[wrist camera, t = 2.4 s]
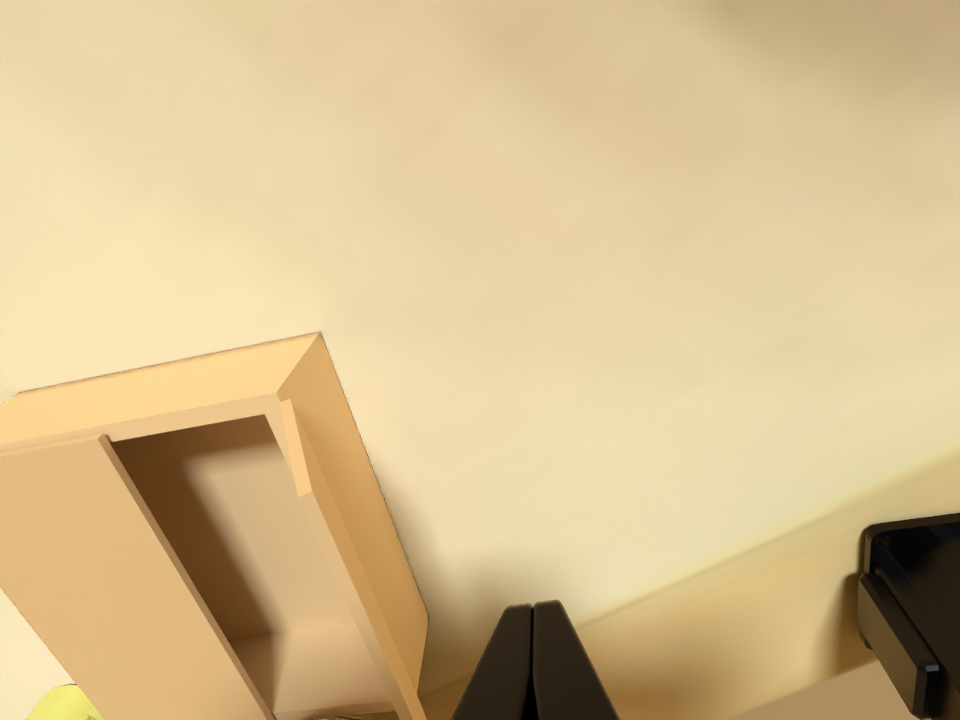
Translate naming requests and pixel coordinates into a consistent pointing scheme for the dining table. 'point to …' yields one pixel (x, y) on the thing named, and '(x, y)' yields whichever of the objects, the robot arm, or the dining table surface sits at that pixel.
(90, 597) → the carton
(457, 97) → the dining table surface
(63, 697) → the tube
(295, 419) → the flap
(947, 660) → the robot arm
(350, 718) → the supplement can
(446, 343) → the dining table surface
